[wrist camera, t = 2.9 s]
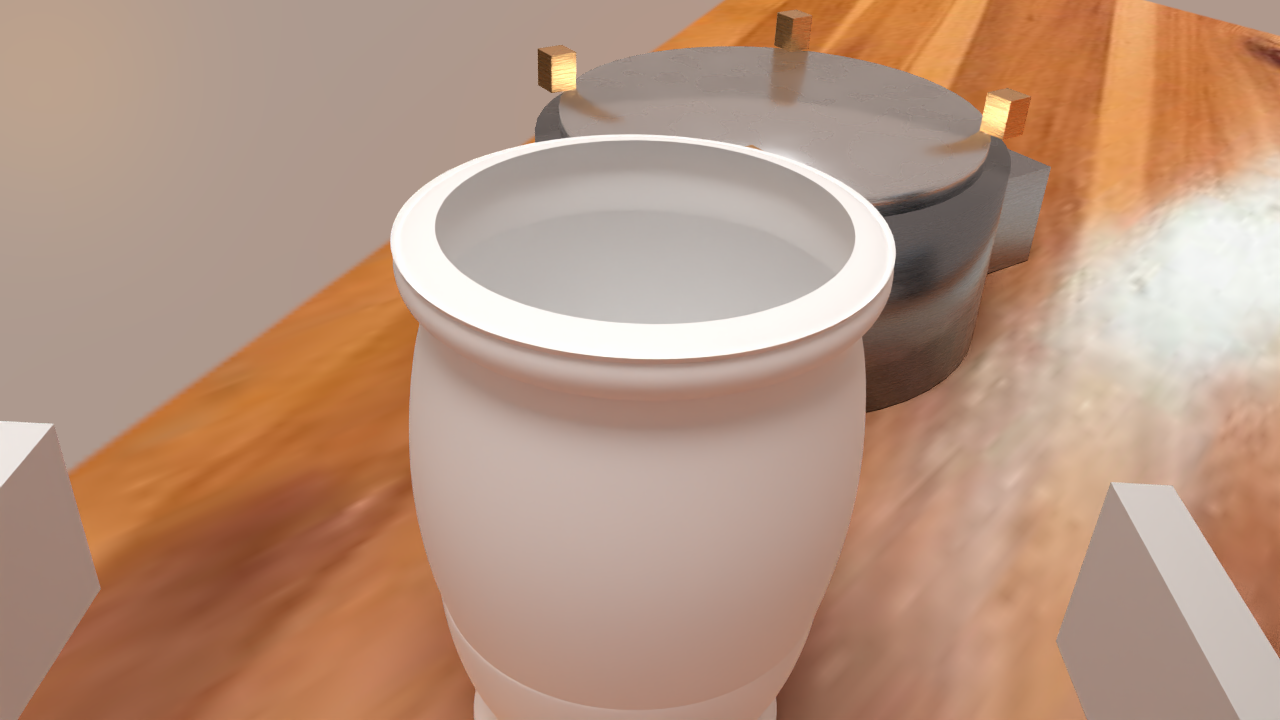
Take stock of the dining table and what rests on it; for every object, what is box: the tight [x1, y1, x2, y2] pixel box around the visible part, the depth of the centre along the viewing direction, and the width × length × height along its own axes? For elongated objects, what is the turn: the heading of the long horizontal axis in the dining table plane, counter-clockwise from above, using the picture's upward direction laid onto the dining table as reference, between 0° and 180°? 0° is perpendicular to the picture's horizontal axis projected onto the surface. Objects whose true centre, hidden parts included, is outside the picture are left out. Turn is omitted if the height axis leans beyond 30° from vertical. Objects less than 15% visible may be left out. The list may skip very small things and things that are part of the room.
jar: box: [390, 134, 896, 720], centre depth 27 cm, size 11×10×15 cm
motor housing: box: [535, 10, 1051, 412], centre depth 49 cm, size 24×20×11 cm
